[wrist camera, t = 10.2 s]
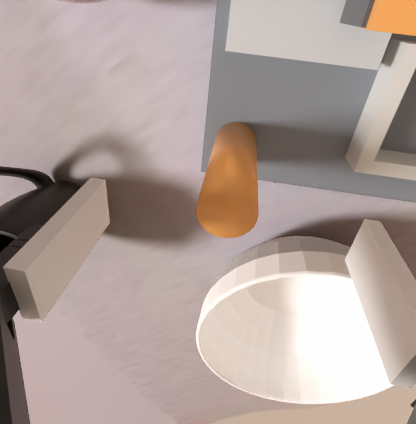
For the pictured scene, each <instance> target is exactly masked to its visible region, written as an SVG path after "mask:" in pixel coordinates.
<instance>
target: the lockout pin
mask: <svg viewBox="0 0 416 424" xmlns="http://www.w3.org/2000/svg"><path fill="white" fill-rule="evenodd" d="M196 216H197V219H198V221H199V223H200V224H201V226H202V227H203V228H204V229H205V230H206V231H208V232H209V233H211V234H213V235H215V236H219V237H223V238H234V237H239V236H242V235H244V234H246V233H247V232H249V231H250V230H251V229H252V228H253V227H254V225H255V224H256V222H257V219H258V184H257V146H256V136H255V133H254V131H253V130H252V129H251V127H249V126H248V125H247V124H245V123H242V122H230V123H227V124H225V125H224V126H223V127H221V128H220V130H219V131H218V133H217V135H216V139H215V142H214V146H213V149H212V153H211V156H210V160H209V163H208V167H207V170H206V174H205V178H204V181H203V185H202V188H201V192H200V195H199V199H198V202H197V206H196Z"/></svg>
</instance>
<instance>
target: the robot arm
mask: <svg viewBox="0 0 416 424" xmlns="http://www.w3.org/2000/svg"><path fill="white" fill-rule="evenodd" d="M109 223H110V218H109V208H108V198H107V188H106V179H99V178H93V177H91V178H90V179H89V180H88V181H87V182H86V183H85V184H84V185H83V186H82V187H81V188H80V189H79V190H78V191H77V192H76V193H75V194H74V195H73V196H72V197H71V198H70V199H69V200H68V201H67V202H66V203H65V204H64V205H63V206H62V207H61V208H60V210H59V211H58V212H57V213H56V214H55V215H54V216H53V217H52V218H51V219H50V220H49V221H48V222H47V223H46V224H45V225H40V224H35V225H33V226H31V227H29V228H27V229H25V230H24V231H23V232H22V233H21V234H19V235H18V236H17V237H16V239H15V240H13V241H12V242H11V243H10V244H9V246H7V247H6V248H5V249H4V250H3V251H2V252H1V253H0V424H30V420H29V414H28V407H27V401H26V394H25V389H24V381H23V376H22V369H21V362H20V356H19V350H18V343H17V337H16V330H15V324H14V321H13V316H14V315H15V314H16V312H17V311H18V310H19V311H20V313H21V316H22V318H23V319H26V320H32V321H37V322H42V321H43V320H44V319H45V317H46V316H47V314H48V313H49V311H50V310H51V308H52V307H53V305H54V304H55V302H56V301H57V300H58V298H59V297H60V295H61V294H62V292H63V291H64V289H65V288H66V286H67V285H68V283H69V282H70V280H71V279H72V278H73V276H74V275H75V273H76V272H77V270H78V269H79V267H80V266H81V264H82V263H83V261H84V260H85V258H86V257H87V256H88V254H89V253H90V251H91V250H92V248H93V247H94V245H95V244H96V242H97V241H98V239H99V238H100V236H101V235H102V234H103V232H104V231H105V229H106V228H107V226H108V225H109ZM345 262H346V265H347V267H348V270H349V273H350V276H351V278H352V281H353V284H354V287H355V289H356V292H357V295H358V298H359V300H360V303H361V306H362V309H363V311H364V314H365V317H366V320H367V322H368V325H369V328H370V331H371V333H372V336H373V339H374V341H375V344H376V347H377V350H378V352H379V355H380V358H381V361H382V363H383V366H384V369H385V372H386V374H387V377H388V380H389V383H390V384H392V385H398V386H403V387H409V388H412V387H413V386H414V385H415V384H416V280H415V278H414V276H413V275H412V273H411V271H410V270H409V268H408V266H407V265H406V263H405V261H404V260H403V258H402V256H401V255H400V253H399V252H398V250H397V248H396V247H395V245H394V243H393V242H392V240H391V238H390V237H389V235H388V233H387V232H386V230H385V228H384V227H383V225H382V223H381V222H380V221H376V220H370V219H364V221H363V223H362V225H361V227H360V229H359V231H358V233H357V235H356V237H355V239H354V242H353V244H352V246H351V248H350V250H349V252H348V254H347V256H346V258H345ZM411 406H412V407H414V410H413V412H412V414H411V416H410V418H409V420H408V423H407V424H416V400H415V401H414V402H413V403H412V404H411Z"/></svg>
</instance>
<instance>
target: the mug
mask: <svg viewBox="0 0 416 424" xmlns="http://www.w3.org/2000/svg"><path fill="white" fill-rule="evenodd" d="M0 175H4V176H14V177H20V178H24V179H27V180H29V181H31V182H32V183H34V184H35V185H36V186H37V188H38V189H35V190H33V191H30V192H28V193H26V194H23V195H21V196H19V197H16V198H14V199H12V200H11V201H9V202H7V203H5V204H3V205H2V206H0V253H1V252H2V251H3V250H4V249H5V248H6V247H7V246H9V244H10V243H11V242H12V241H13V240H15V239H16V237H17V236H18V235H19V234H21V233H22V232H23V231H24V230H25V229H27V228H29V227H31V226H33V225H35V224H40V225H45V224H46V223H47V222H48V221H49V220H50V219H51V218H52V217H53V216H54V215H55V214H56V213H57V212H58V211H59V210H60V208H61V207H62V206H63V205H64V204H65V203H66V202H67V201H68V200H69V199H70V198H71V197H72V196H73V195H74V194H75V193H76V192H77V191H78V190H79V189H80V188H81V187H80V186H78V185H76V184H74V183H70V182H64V181H59V182H53V180H52V179H51V178H50V177H49V176H48V175H46V174H45V173H42V172H40V171H36V170H30V169H21V168H11V167H1V166H0Z"/></svg>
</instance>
